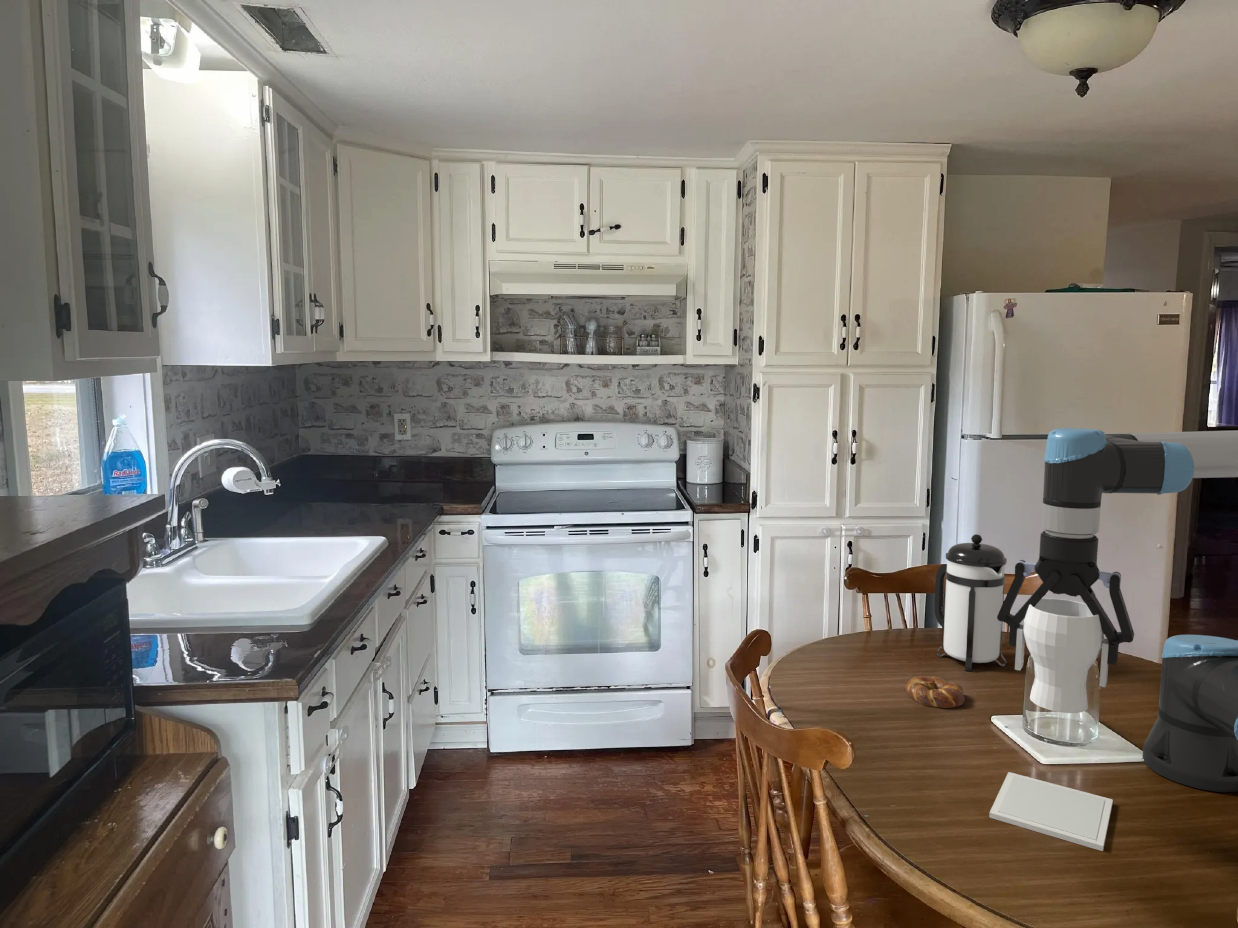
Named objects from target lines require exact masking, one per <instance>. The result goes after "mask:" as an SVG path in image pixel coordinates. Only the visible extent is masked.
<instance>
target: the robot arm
mask: <svg viewBox="0 0 1238 928" xmlns="http://www.w3.org/2000/svg"><path fill="white" fill-rule="evenodd" d="M1043 461H1044V472H1043V473H1044V474H1043V475H1044V476H1043V491H1042V494H1043V497H1042V503H1041V519H1040V520H1041V521H1040V527H1041V528H1042V529H1043V531H1042V532H1041V533H1040V535H1039V536H1040V539H1039V554H1038V555H1039V556H1038V560H1037V562H1026V560H1024V559H1021V560H1020V559H1019V561H1017V562H1016V563H1015V564H1014V565H1015V566H1014V578H1013V581H1012V583H1011V584H1010V587H1009V589H1008V591H1007V594H1006V595H1005V597H1004V602H1003V603H1002V607H1001V609H1000V611H999V613H998V615H997V619H998V620H999V621H1001V622H1002V621H1003V623H1005V624H1007V625H1008V627H1009V630H1008V631H1009V632H1008V633H1009V636H1008V644H1009V646H1010V647H1012V648H1015V657H1014V670H1016V671H1021V670H1022V668H1023V666H1024V662H1025V661H1024V659H1025V644H1026V641H1025V637H1024V633H1023V628H1024V624H1021V623H1022V621H1024V618H1025V616H1026V613H1027V610H1028V607H1029V605H1030V604H1031V605H1032V606H1033V607H1035V605H1036V604H1037V603H1038V602H1039V601H1040V600H1041V599H1043V597H1045V596H1046V594H1047V593H1048V592H1049V591H1050V592H1051V593H1052V594H1054V595H1064V594H1065V595H1067V596H1069V597H1075V598H1076V597H1077V596H1080V598H1081V600H1082V601H1083V603H1085V604H1086V605H1087V606H1088V608H1089V610H1090V611H1091V613H1092V615H1093V616H1094V615H1099V619H1100V624H1101V629H1102V631H1103V633H1104V638H1103V643H1102V648H1101V658H1100V670H1099V671H1100V672H1099V687H1102V688H1106V686H1107V683H1108V673H1109V672H1108V671H1109V665H1110V666H1111V665H1112V666H1116V665H1117V663H1118V660H1119V659H1118V657H1119V647H1120V646H1119V645H1120V644H1121V643H1128V644H1129V643H1132V642H1133V640H1134V638H1135V632H1134V629H1133V626H1132V622H1131V619H1130V616H1129V612H1128V609H1127V607H1126V606H1127V605H1126V603H1125V600H1124V599H1125V598H1124V596H1123V593H1122V590H1121V581H1122V574H1121V573H1120V572H1119V571H1113V572H1106V571H1100V569H1099V568H1098V551H1099V538H1098V536H1097V534H1098V533H1099V532H1100V523H1101V522H1100V521H1101V508H1102V507H1101V505H1102V496H1103V494H1152V495H1154V494H1156V495H1162V494H1163V495H1164V494H1174V493H1175V494H1176V493H1180V492H1182V491H1185V490H1186V489H1187V488H1188V487H1189V485H1190V484H1191V482H1192V480H1193V479H1202V478H1203V479H1207V478H1209V479H1210V478H1212V479H1213V478H1216V479H1217V478H1238V429H1237V430H1233V429H1232V430H1209V431H1208V430H1203V431H1169V432H1168V431H1167V432H1166V431H1165V432H1134V433H1133V432H1132V433H1131V432H1129V433H1105V432H1104V431H1103V430H1100V429H1096V428H1084V427H1082V428H1081V427H1080V428H1078V427H1077V428H1076V427H1062V428H1061V427H1060V428H1054V429H1052V430H1051V431H1050V432H1049V433H1048V435H1047V440H1046V444H1045V452H1044V457H1043ZM1032 572H1035V573H1036V574H1037V576H1038V577H1039V579H1040V580H1041V582H1042V583H1041V584H1040V585H1039V587H1038V588H1037V589H1036V590H1035V591H1034V592H1033V593H1032V594H1031V596H1030V597H1029V598H1028V599H1027V600H1026V601H1025V603H1024V604H1023V605H1022V606H1021V608H1019V610H1017V612H1016V613H1015V614H1013V613H1012V614H1011V610H1012V608H1013V605H1014V603H1015V601H1016V599H1017V597H1018V595H1019V592H1020V590H1021V588H1022V586H1023V584H1024V582H1025V580H1026V578H1027V577H1030V575H1031V574H1032ZM1098 580H1100V581H1101V582H1102V583H1103V586H1104V587H1105V588H1107V589H1108V590H1109V591H1108V592H1109V597H1110V601H1111V604H1112V606H1113V607H1112V608H1113V610H1114V613H1115V616H1116V619H1117V623H1118V625H1119V629H1120V631H1117V629H1116V627H1115V626H1114V624H1113V622H1112V621H1111V619H1110V618H1109V616H1108V614H1107V612H1106V610H1105V609H1104V608H1103V606H1102V604H1101V603H1100V601H1099V600H1098V597H1097V596H1096V593H1095V592H1094V590H1093V588H1092V586H1093V585H1094V584H1095V583H1096V582H1098ZM1161 659H1162V660H1161V672H1160V674H1161V675H1160V684H1159V685H1160V686H1159V687H1160V688H1159V700H1158V710H1157V711H1158V712H1157V713H1158V714H1157V718H1156V720H1155V722H1154V723H1153V725H1152V728H1151V730H1150V732H1149V734H1148V736H1146V739H1145V741H1144V744H1143V746H1142V760H1143V759H1144V761H1143V762H1144V764H1145V765H1146V766H1147V767H1148V768H1149V769H1151V770H1152V771H1153V772H1155V773H1156V774H1159V776H1162V777H1164V778H1165V779H1168V780H1170V781H1173V782H1175V783H1179V784H1180V785H1184V786H1187V787H1192V788H1196V789H1199V790H1204V791H1210V792H1219V793H1234V792H1235V793H1236V792H1238V640H1235V639H1232V638H1226V637H1220V636H1214V635H1213V636H1212V635H1206V634H1205V635H1202V634H1178V635H1173V636H1170V637H1168V638H1167V639H1166V640H1165V641H1164V645H1163V651H1162V654H1161Z"/></svg>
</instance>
